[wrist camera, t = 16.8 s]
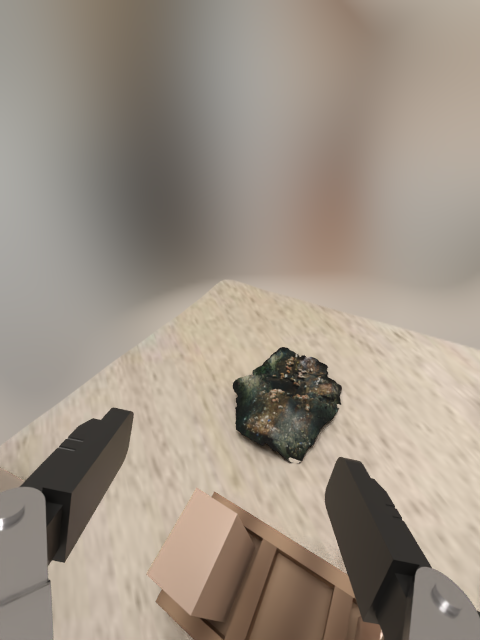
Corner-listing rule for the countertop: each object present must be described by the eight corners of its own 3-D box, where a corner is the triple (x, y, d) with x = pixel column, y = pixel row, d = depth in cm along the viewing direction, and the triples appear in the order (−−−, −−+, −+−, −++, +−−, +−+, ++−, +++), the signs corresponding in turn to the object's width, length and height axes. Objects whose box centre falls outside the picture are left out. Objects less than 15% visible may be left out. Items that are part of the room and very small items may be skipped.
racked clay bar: (192, 592, 26) (146, 574, 19) (223, 526, 30) (196, 487, 22) (226, 622, 24) (190, 615, 17) (255, 547, 28) (237, 513, 21)
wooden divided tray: (169, 605, 27) (155, 602, 24) (221, 502, 33) (214, 491, 31) (428, 854, 17) (450, 893, 14) (434, 638, 23) (450, 638, 20)
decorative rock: (265, 331, 50) (351, 345, 43) (269, 355, 53) (349, 371, 46) (212, 414, 37) (321, 453, 30) (222, 439, 40) (322, 479, 33)
